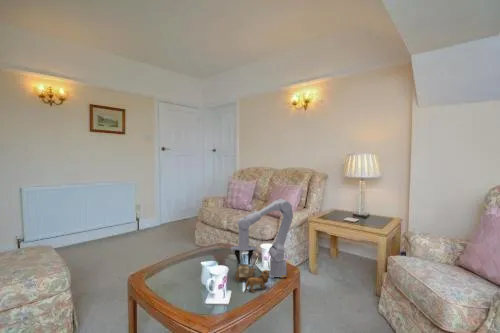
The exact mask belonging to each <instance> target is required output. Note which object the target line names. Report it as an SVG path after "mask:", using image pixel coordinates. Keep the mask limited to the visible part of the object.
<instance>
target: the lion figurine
mask: <svg viewBox="0 0 500 333" xmlns="http://www.w3.org/2000/svg"><path fill="white" fill-rule="evenodd" d="M269 279H270V270H267V269H265V270H263V271H262V272H261V274H260V275H259V276H258V277H257V276H256V277H254V278H253V277H251V278H249V279H248V280H247V281H246V283H245V289H244V291H243V293H246V291H248V290H249V289H248V287H249V286H250V291H251V292H252V293H255V290H253V288H254V285H255V286H259V288H260V289H262V290H263V291H266V288H265V287H266V286H265V285H266V283H268V282H269Z"/></svg>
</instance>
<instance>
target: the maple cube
mask: <svg viewBox="0 0 500 333" xmlns="http://www.w3.org/2000/svg"><path fill="white" fill-rule="evenodd" d="M238 268H239V277H249V268H250V264H247V263H245V264H243V263H240V264H239V267H238Z"/></svg>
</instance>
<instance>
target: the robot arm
mask: <svg viewBox="0 0 500 333" xmlns="http://www.w3.org/2000/svg"><path fill="white" fill-rule="evenodd" d="M274 211H277V212H280V213H281V214H282V219H281V222H280V226H279V229H278V232H277V235H276V238H275V241H274V242H273V243H272V245H271V247H270V248H269V250H268V254H269V256H270V258H269V269H270V270H269V274H270V275H269V279H273V278H274V277H278V276H283V275H286V276H287V272H288V271H287V260H286V259H285V242H286V240H287V236H288V235H289V234H288V233H289V230H290V227H291V223H292V221H293V218H294V213H293V205H292V203H291V202H289V201H288V200H285V199H284V198H278V199H276V200H273V201H272V202H271V203H270V204H268V205H266V206H265V207H264V208H262V209H260V210H259V211H257V210H255V211H254V210H252V211H251V212H250V213H249V214H247V215H244V217H240V218H239V219H238V220H237V226H238V245H236V246H230V252H234V255H235V257H236V260H237V263H238V265H240V264H241V255H240V254H241V252H248V254H247V255H248V260H247V261H248V264H249V265H250V264H251V259H252V256H253V254H254V252H258V247H257V246H250V238H249V237H250V235H249V234H250V233H249V232H250V231H249V229H250V227H251V226H252V225H254V224H256V223H257V222H259V221H261V219H262V217H264V216H266V215H268V214H269V213H271V212H274ZM274 279H275V278H274Z"/></svg>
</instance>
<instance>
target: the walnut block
mask: <svg viewBox="0 0 500 333" xmlns="http://www.w3.org/2000/svg"><path fill="white" fill-rule="evenodd" d="M251 277H253V278H255V268H254V267H249V277H239V267H237V268H236V272H235V275H234V278H235V279H234V280H235V281H236V282H237V281H238V282H247V280H248V279H249V278H251Z"/></svg>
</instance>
